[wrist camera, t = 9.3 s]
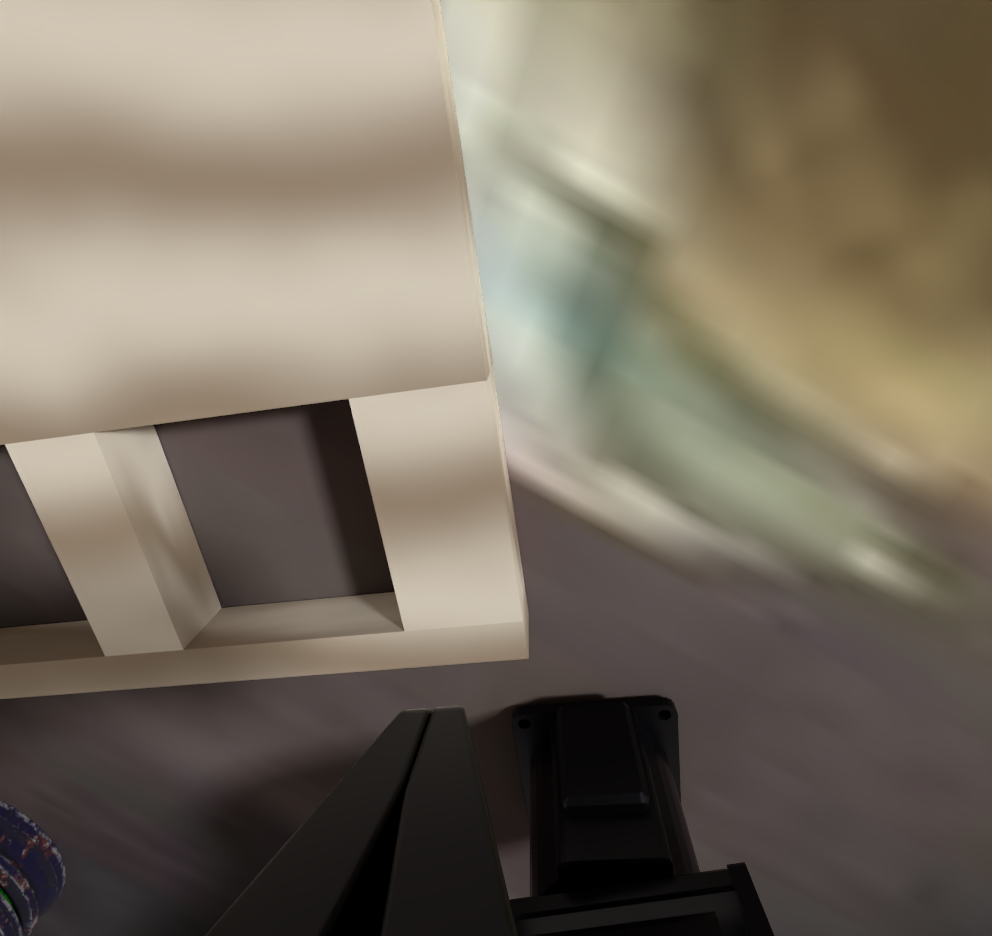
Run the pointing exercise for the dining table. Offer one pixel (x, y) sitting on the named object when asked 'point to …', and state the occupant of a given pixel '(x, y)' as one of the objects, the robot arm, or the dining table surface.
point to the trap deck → (243, 325)
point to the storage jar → (26, 873)
